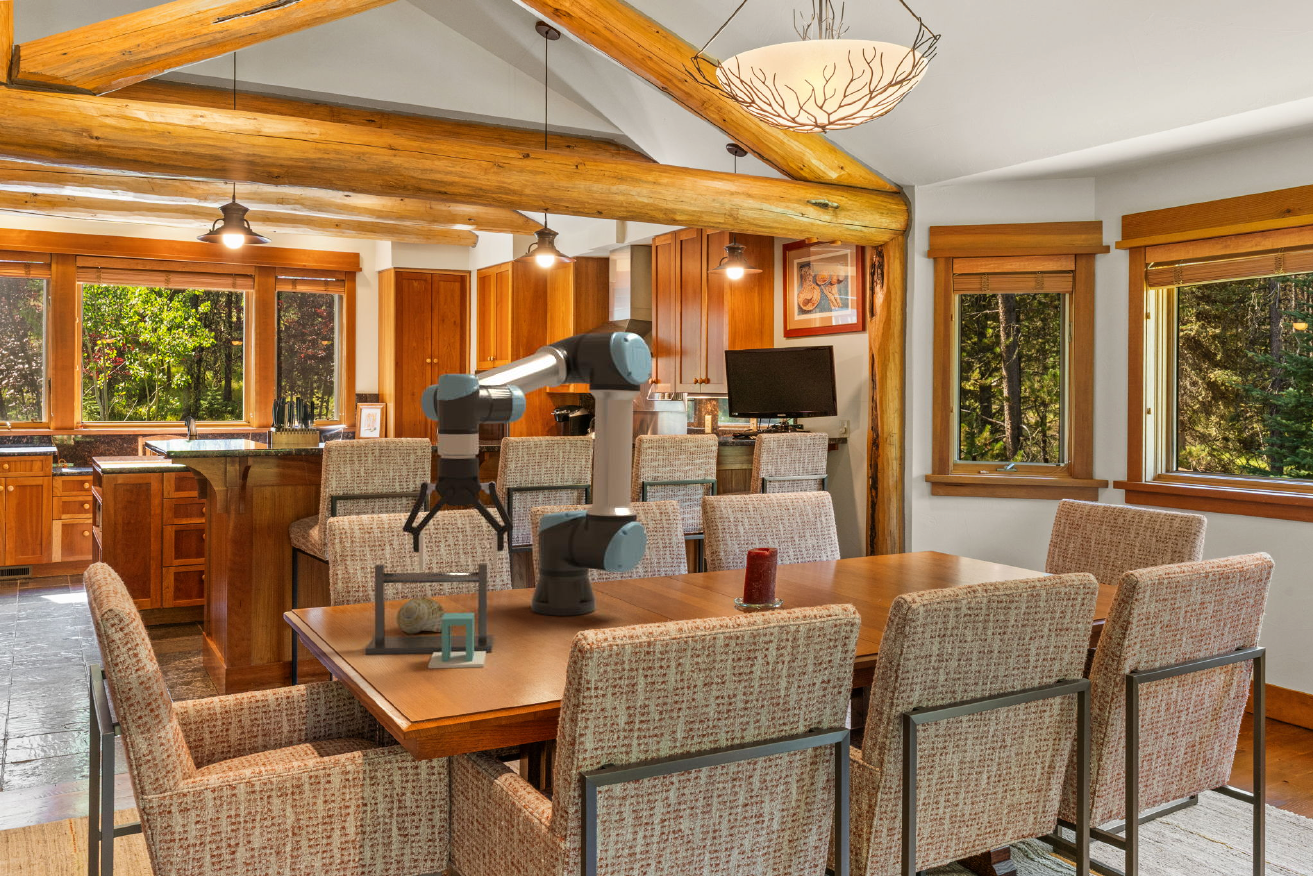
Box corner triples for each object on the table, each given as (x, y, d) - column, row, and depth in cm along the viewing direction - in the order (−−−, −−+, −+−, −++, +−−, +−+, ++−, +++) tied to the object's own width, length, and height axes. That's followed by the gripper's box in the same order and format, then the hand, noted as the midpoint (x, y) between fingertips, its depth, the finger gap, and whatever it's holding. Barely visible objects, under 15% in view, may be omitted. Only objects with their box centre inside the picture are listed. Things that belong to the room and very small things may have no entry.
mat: (485, 654, 189) (486, 651, 189) (483, 667, 180) (483, 664, 180) (433, 655, 188) (433, 652, 188) (428, 668, 179) (428, 665, 179)
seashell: (457, 622, 212) (449, 586, 207) (438, 652, 204) (429, 615, 199) (415, 616, 215) (406, 580, 210) (394, 646, 206) (385, 609, 201)
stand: (493, 640, 199) (494, 560, 199) (491, 652, 190) (491, 567, 190) (373, 642, 196) (373, 561, 196) (365, 654, 188) (365, 569, 187)
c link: (472, 661, 182) (472, 618, 181) (441, 661, 181) (441, 619, 181) (474, 654, 187) (474, 612, 186) (444, 654, 186) (444, 613, 186)
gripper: (525, 454, 187) (526, 564, 188) (393, 455, 184) (394, 566, 185) (525, 457, 180) (525, 571, 181) (386, 458, 177) (388, 573, 178)
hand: (459, 569), depth 183 cm, fingers open, 13 cm apart
